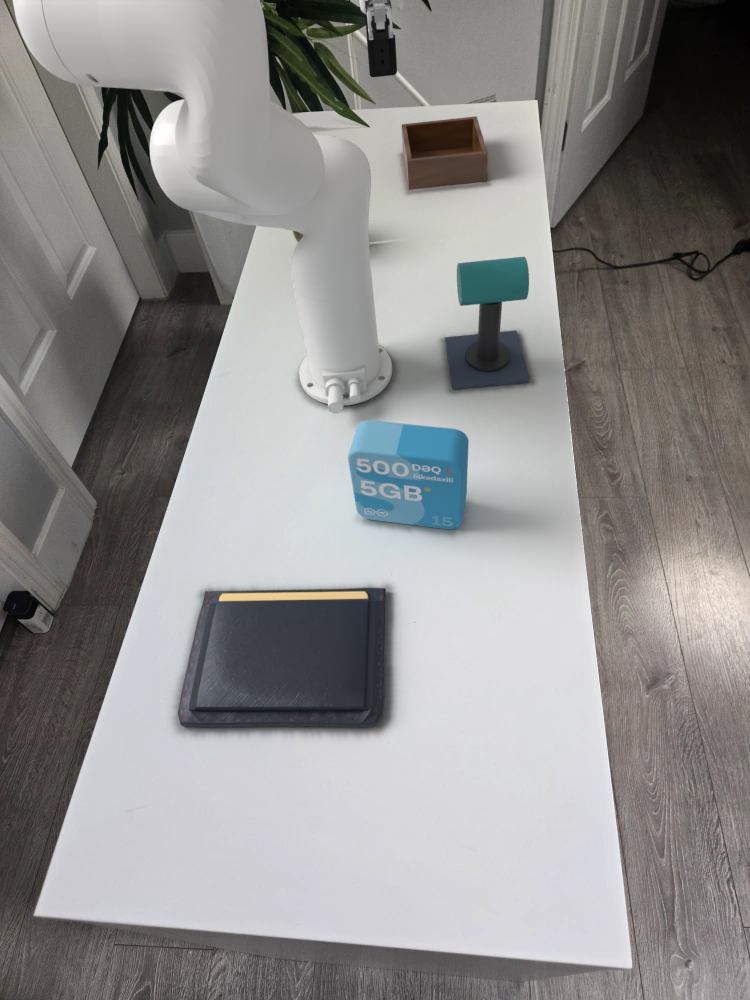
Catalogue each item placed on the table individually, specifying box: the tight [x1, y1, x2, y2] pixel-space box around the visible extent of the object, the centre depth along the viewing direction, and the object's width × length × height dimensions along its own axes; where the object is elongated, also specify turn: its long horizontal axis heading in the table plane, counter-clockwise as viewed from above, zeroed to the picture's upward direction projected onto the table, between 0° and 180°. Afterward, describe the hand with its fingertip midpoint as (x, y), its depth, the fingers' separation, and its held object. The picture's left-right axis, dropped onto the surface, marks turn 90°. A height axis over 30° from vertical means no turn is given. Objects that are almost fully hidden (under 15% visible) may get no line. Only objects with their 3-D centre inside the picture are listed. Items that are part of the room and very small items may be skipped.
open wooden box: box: [401, 116, 489, 191], centre depth 126 cm, size 14×14×6 cm
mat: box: [444, 329, 531, 391], centre depth 96 cm, size 10×10×1 cm
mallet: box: [456, 256, 530, 372], centre depth 90 cm, size 6×8×14 cm
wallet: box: [177, 587, 387, 729], centre depth 71 cm, size 20×2×15 cm
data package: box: [347, 419, 469, 530], centre depth 77 cm, size 12×4×12 cm, turn 78°
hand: (381, 57), depth 86 cm, fingers open, 9 cm apart
